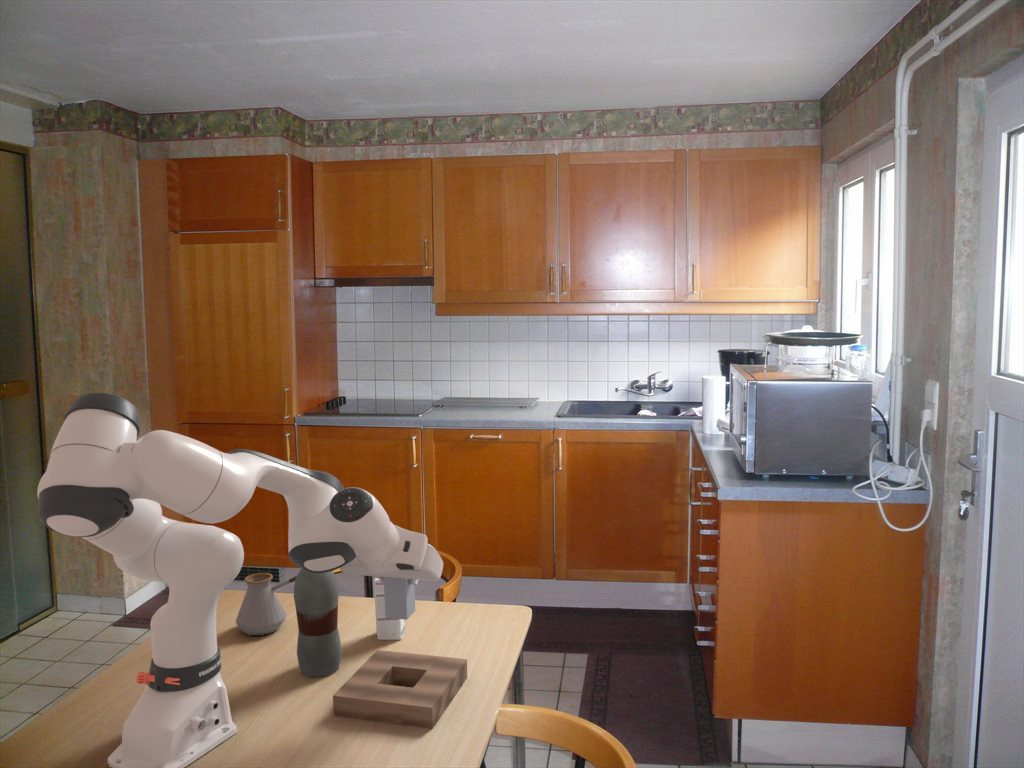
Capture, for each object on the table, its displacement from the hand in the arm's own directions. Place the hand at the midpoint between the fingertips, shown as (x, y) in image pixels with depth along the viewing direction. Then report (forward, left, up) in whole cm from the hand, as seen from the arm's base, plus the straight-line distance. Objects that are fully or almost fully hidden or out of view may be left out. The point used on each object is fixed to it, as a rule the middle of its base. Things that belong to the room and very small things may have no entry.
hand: (400, 580), depth 162 cm
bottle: (+6, +22, -23) cm, 32 cm away
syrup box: (+25, +14, -23) cm, 37 cm away
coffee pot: (+23, +41, -23) cm, 52 cm away
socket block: (-1, 0, -23) cm, 23 cm away
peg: (-1, 0, -7) cm, 7 cm away
